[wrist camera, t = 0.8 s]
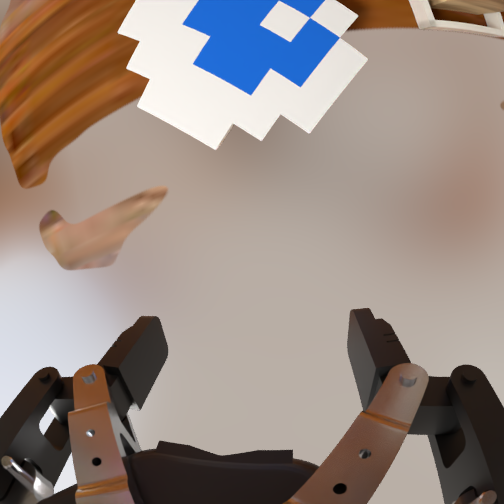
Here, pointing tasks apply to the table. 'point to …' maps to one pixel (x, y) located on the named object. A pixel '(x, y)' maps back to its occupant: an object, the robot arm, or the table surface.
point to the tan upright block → (469, 5)
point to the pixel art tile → (240, 62)
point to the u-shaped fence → (429, 23)
